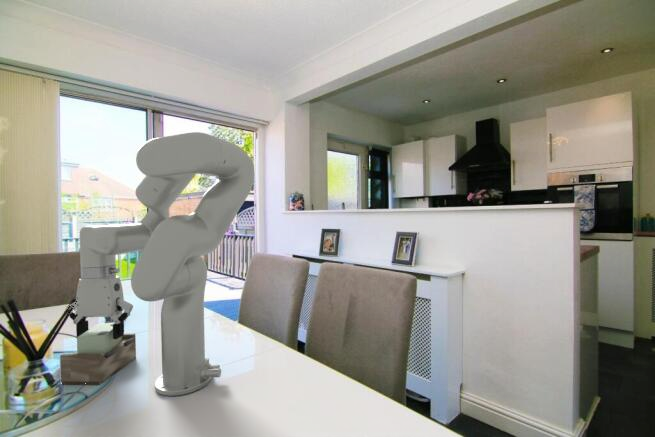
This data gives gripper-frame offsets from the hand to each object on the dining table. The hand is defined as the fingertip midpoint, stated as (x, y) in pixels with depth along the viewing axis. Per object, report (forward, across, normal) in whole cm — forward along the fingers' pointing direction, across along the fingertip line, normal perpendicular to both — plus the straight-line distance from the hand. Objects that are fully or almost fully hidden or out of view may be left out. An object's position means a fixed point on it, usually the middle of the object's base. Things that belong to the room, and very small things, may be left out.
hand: (100, 337), depth 84 cm
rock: (+9, +28, -42) cm, 52 cm away
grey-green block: (+3, 0, 0) cm, 3 cm away
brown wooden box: (+9, 0, 0) cm, 9 cm away
